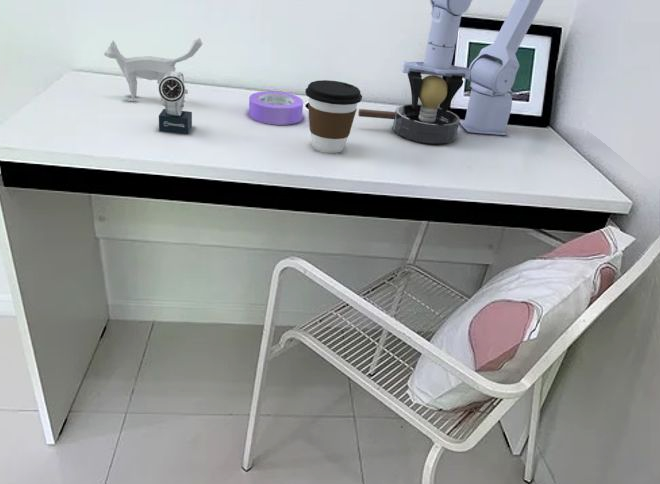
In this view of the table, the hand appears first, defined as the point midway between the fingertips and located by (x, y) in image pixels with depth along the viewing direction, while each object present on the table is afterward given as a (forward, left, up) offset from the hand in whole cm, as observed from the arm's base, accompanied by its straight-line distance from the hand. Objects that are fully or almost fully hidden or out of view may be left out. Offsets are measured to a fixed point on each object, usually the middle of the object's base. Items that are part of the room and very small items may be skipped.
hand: (428, 108), depth 139 cm
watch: (+53, +9, -6) cm, 54 cm away
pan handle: (+11, 0, -3) cm, 12 cm away
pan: (0, 0, -6) cm, 6 cm away
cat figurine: (+59, -8, -6) cm, 60 cm away
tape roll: (+33, -4, -6) cm, 34 cm away
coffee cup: (+23, +13, -6) cm, 27 cm away
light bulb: (0, 0, -3) cm, 3 cm away
